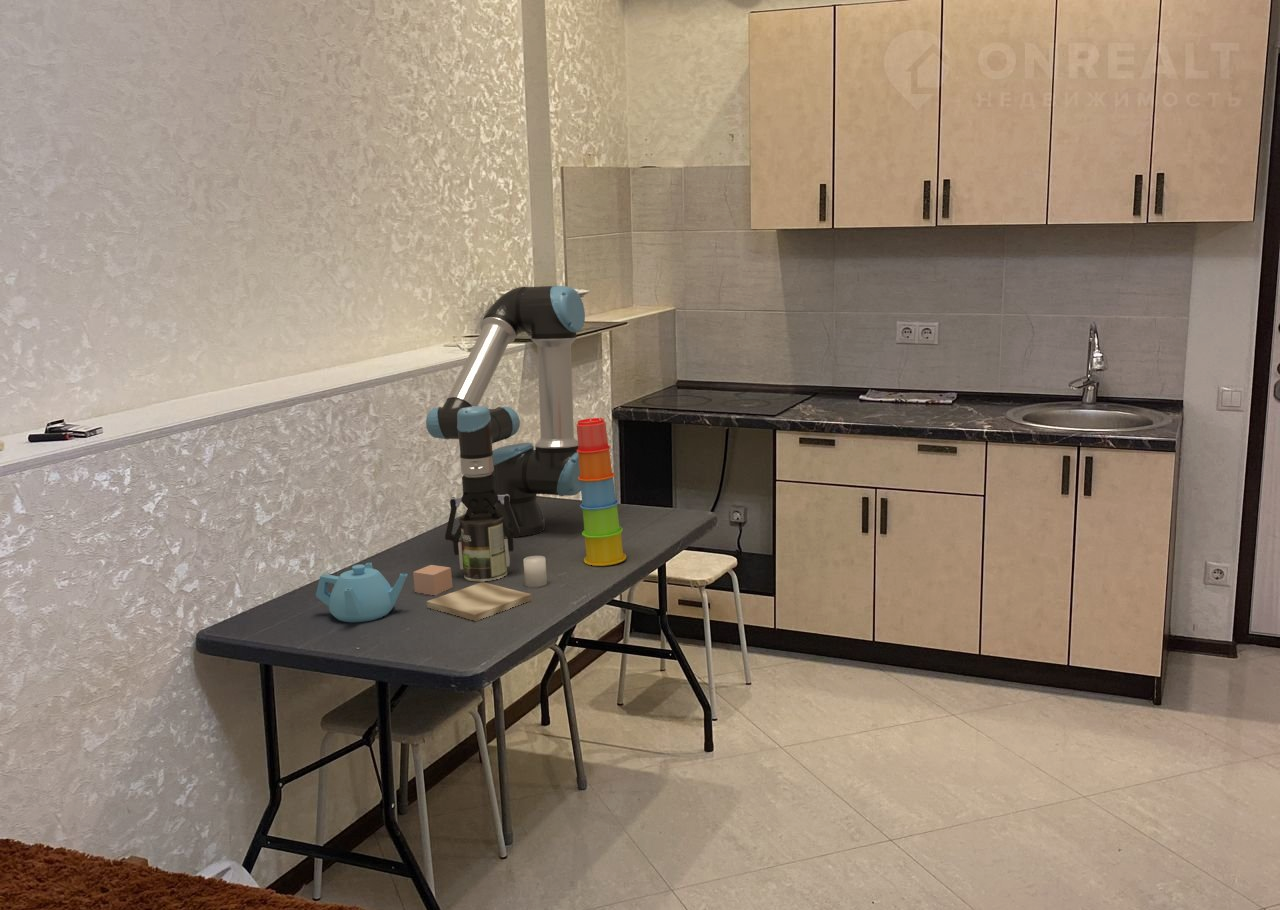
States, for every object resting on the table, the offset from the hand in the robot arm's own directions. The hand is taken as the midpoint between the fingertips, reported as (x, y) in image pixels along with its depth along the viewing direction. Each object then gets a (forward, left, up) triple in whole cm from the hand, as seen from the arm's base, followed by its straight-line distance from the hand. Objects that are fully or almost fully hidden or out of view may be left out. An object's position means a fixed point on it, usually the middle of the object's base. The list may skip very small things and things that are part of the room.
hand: (485, 566), depth 275 cm
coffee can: (0, 0, -3) cm, 3 cm away
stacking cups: (-24, +16, -3) cm, 29 cm away
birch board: (+15, +15, -2) cm, 21 cm away
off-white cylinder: (-2, +15, -2) cm, 15 cm away
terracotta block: (+14, -2, -2) cm, 14 cm away
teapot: (+33, -2, -3) cm, 33 cm away
